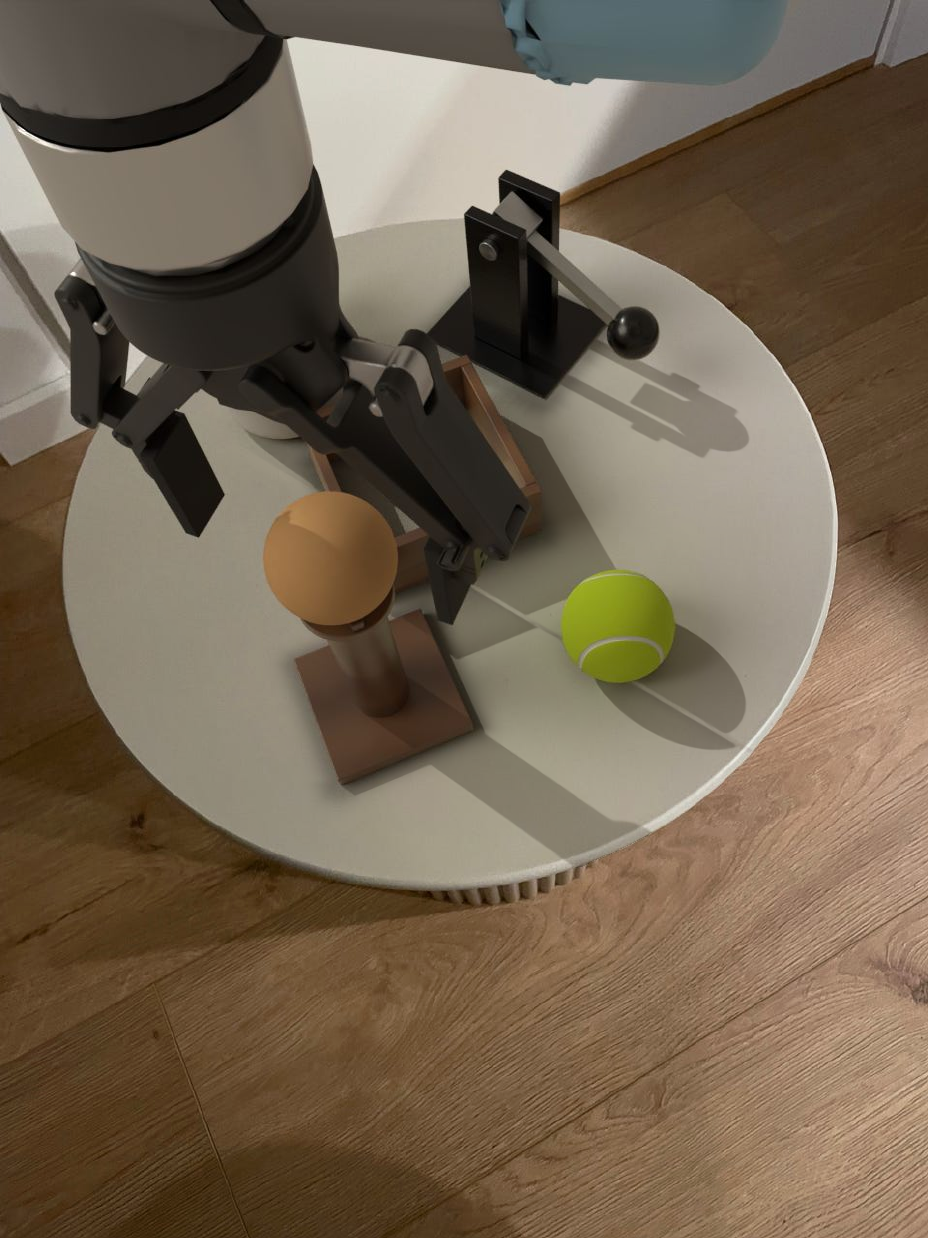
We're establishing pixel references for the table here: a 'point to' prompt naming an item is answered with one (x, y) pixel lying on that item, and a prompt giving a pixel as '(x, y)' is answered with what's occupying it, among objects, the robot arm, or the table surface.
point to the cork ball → (330, 558)
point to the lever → (585, 287)
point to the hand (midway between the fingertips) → (327, 555)
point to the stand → (380, 691)
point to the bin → (499, 438)
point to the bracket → (515, 298)
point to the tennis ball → (617, 626)
